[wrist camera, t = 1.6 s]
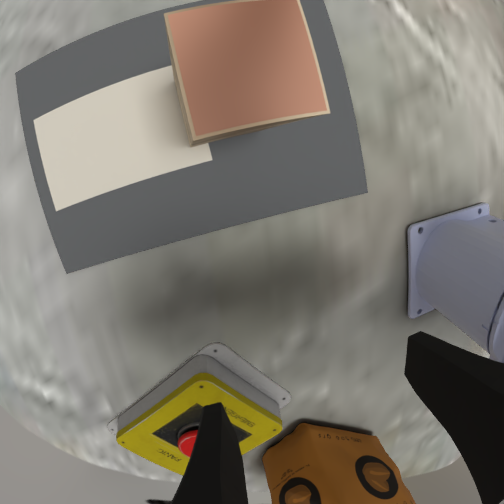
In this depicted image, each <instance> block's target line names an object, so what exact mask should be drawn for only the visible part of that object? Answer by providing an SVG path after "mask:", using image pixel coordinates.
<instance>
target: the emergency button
mask: <svg viewBox="0 0 504 504" xmlns="http://www.w3.org/2000/svg"><path fill="white" fill-rule="evenodd" d="M290 400H291V394H290V393H289V391H287V390H286V389H284V388H283V387H281V386H280V385H279V384H277V383H276V382H274V381H273V380H272V379H270V378H269V377H267V376H266V375H265V374H263V373H262V372H261V371H259V370H258V369H256V368H255V367H254V366H252V365H251V364H250V363H248V362H247V361H246V360H244V359H243V358H242V357H240V356H239V355H238V354H237V353H235V352H234V351H233V350H231V349H230V348H229V347H227V346H226V345H224V344H222V343H219V342H218V343H211V344H209V345H207V346H205V347H204V348H202V349H201V350H200V351H199V352H197V353H196V354H195V355H194V356H193V357H191V358H190V359H189V360H188V361H186V362H185V363H184V364H183V365H182V366H180V367H179V368H178V369H177V370H175V371H174V372H173V373H172V374H170V375H169V376H168V377H167V378H165V379H164V380H163V381H162V382H160V383H159V384H158V385H157V386H155V387H154V388H153V389H152V390H150V391H149V392H148V393H146V394H145V395H144V396H143V397H141V398H140V399H139V400H138V401H136V402H135V403H134V404H132V405H131V406H130V407H128V408H127V409H126V410H125V411H123V412H122V413H121V414H119V415H118V416H117V417H115V418H114V419H113V420H111V421H110V422H109V423H108V425H107V428H108V430H109V431H110V432H111V433H113V434H114V435H116V438H117V442H118V444H120V445H121V446H122V447H124V448H126V449H128V450H130V451H132V452H133V453H135V454H137V455H139V456H141V457H143V458H145V459H147V460H149V461H151V462H153V463H155V464H158V465H160V466H162V467H164V468H166V469H168V470H171V471H173V472H175V473H178V474H180V475H182V476H183V475H184V473H185V470H186V467H187V465H188V462H189V459H190V456H191V453H192V450H193V446H194V443H195V440H196V436H197V432H198V428H199V424H200V419H201V414H202V408H203V407H204V406H206V405H210V404H214V403H219V402H222V405H223V407H224V409H225V411H226V413H227V415H228V417H229V420H230V422H231V424H232V426H233V428H234V430H235V432H236V434H237V438H238V442H239V446H240V450H241V455H243V454H245V453H247V452H249V451H251V450H252V449H254V448H256V447H257V446H259V445H261V444H263V443H264V442H266V441H267V440H269V439H271V438H272V437H274V436H276V435H277V434H279V433H280V432H281V431H282V420H281V416H280V409H281V408H282V407H284V406H285V405H286V404H287V403H288V402H289V401H290Z"/></svg>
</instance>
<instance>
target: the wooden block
mask: <svg viewBox="0 0 504 504" xmlns="http://www.w3.org/2000/svg"><path fill="white" fill-rule="evenodd" d="M164 19H165V26H166V32H167V39H168V45H169V52H170V58H171V64H172V70H173V76H174V82H175V86H176V90H177V94H178V99H179V103H180V107H181V111H182V115H183V119H184V123H185V127H186V132H187V136H188V140H189V144H190V147H195V146H198V145H202V144H206V143H210V142H214V141H218V140H222V139H226V138H230V137H234V136H239V135H243V134H248V133H252V132H257V131H261V130H265V129H269V128H272V127H276V126H280V125H284V124H287V123H291V122H295V121H299V120H303V119H308V118H312V117H316V116H321V115H325V114H330V109H329V104H328V100H327V96H326V91H325V87H324V83H323V79H322V75H321V71H320V67H319V63H318V60H317V56H316V52H315V49H314V45H313V42H312V38H311V35H310V32H309V28H308V25H307V22H306V18H305V15H304V12H303V9H302V6H301V3H300V0H235V1H227V2H220V3H213V4H207V5H201V6H196V7H191V8H186V9H181V10H176V11H172V12H168V13H164Z"/></svg>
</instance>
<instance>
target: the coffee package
mask: <svg viewBox="0 0 504 504" xmlns="http://www.w3.org/2000/svg"><path fill="white" fill-rule="evenodd" d="M262 461H263V464H264V468H265V472H266V477H267V482H268V486H269V489H270V493H271V499H272V504H416V503H415V501H414V500H413V497H412V496H411V493H410V491H409V490H408V489H407V488H406V486H405V485H404V483H403V482H402V479H401V475H400V471H399V469H398V467H397V466H396V464H395V463H394V462H393V460H392V459H391V458H390V457H389V455H388V454H387V453H386V452H385V450H384V448H383V446H382V445H381V443H380V441H379V439H378V438H377V437H376V436H371V435H366V434H359V433H355V432H350V431H345V430H340V429H335V428H329V427H323V426H315V425H311V424H307V423H301V424H299V425H298V426H297V427H296V429H295V430H294V431H293V433H291V434H289V435H287V436H285V437H284V439H282V440H281V441H280V442H279V443H278V444H276V445H275V446H272V447H270V448H269V449H268V450H267V451H266V453H265V454H264V456H263V458H262Z"/></svg>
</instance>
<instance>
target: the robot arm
mask: <svg viewBox="0 0 504 504" xmlns="http://www.w3.org/2000/svg"><path fill="white" fill-rule="evenodd" d="M419 228H420V231H419V232H418V229H419ZM408 261H409V291H408V316H409V317H410V318H411V319H414V318H416V317H419V316H421V315H423V314H425V313H428V312H430V311H432V310H434V309H436V310H438V311H439V312H440V313H441V314H443V315H444V316H445V317H446V318H447V319H449V320H450V321H451V322H452V323H454V324H455V325H456V326H457V327H458V328H460V329H461V330H462V331H463V332H464V333H466V334H467V335H468V336H469V337H470V338H472V339H473V340H474V341H475V342H476V343H477V344H479V345H480V346H481V347H482V348H483V349H484V350H485V351H487V352H488V353H489V354H490V358H489V359H488V358H485V357H482V356H479V355H477V354H474V353H471V352H469V351H466V350H464V349H461V348H459V347H457V346H454V345H452V344H450V343H447V342H445V341H443V340H440V339H438V338H436V337H434V336H431V335H429V334H426V333H424V332H421V331H420V332H418V333H416V334H413V335H411V336H409V337H408V345H407V355H406V365H405V373H404V374H405V376H406V378H407V379H408V381H409V383H410V384H411V386H412V388H413V389H414V391H415V392H416V394H417V395H418V396H419V398H420V399H421V400H422V401H423V403H424V404H425V405H426V406H427V407H428V409H429V410H430V411H431V412H432V413H433V415H434V416H435V417H436V418H437V420H438V421H439V422H440V423H441V424H442V426H443V427H444V428H445V429H446V431H447V432H448V434H449V435H450V436H451V438H452V440H453V441H454V443H455V445H456V446H457V448H458V450H459V451H460V453H461V455H462V457H463V458H464V461H465V462H466V464H467V466H468V469H469V470H470V473H471V475H472V477H473V479H474V482H475V484H476V487H477V489H478V492H479V495H480V497H481V501H482V504H499V503H500V502H501V501H502V500H504V220H502V219H500V218H497V217H494V216H491V215H489V205H488V204H487V203H481V204H478V205H474V206H471V207H468V208H465V209H461V210H458V211H455V212H452V213H448V214H445V215H442V216H438V217H435V218H432V219H428V220H425V221H422V222H418V223H415V224H412V225H410V227H409V228H408ZM418 310H419V311H418ZM417 311H418V312H417ZM171 504H248V498H247V490H246V483H245V475H244V467H243V459H242V455H241V450H240V446H239V442H238V438H237V434H236V432H235V430H234V428H233V426H232V424H231V422H230V420H229V417H228V415H227V413H226V411H225V409H224V407H223V405H222V402H219V403H214V404H210V405H206V406H204V407H203V408H202V414H201V419H200V424H199V428H198V432H197V436H196V440H195V443H194V446H193V450H192V453H191V456H190V459H189V462H188V465H187V467H186V470H185V473H184V475H183V478H182V480H181V483H180V485H179V487H178V490H177V492H176V494H175V496H174V498H173V500H172V502H171Z"/></svg>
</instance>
